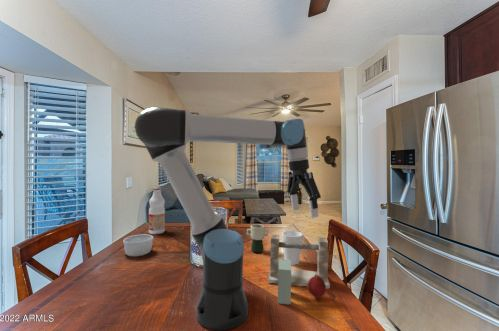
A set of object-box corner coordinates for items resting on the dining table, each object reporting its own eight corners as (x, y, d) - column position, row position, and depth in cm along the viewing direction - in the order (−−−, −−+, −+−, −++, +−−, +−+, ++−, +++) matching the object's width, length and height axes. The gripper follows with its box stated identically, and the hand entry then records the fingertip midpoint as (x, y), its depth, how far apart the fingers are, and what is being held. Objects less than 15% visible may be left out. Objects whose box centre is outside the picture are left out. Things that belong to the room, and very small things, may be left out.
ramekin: (131, 260, 107) (131, 244, 107) (117, 253, 115) (118, 238, 115) (158, 251, 118) (158, 237, 118) (144, 245, 126) (144, 232, 126)
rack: (268, 283, 89) (269, 240, 88) (270, 271, 98) (270, 232, 98) (329, 289, 85) (330, 244, 85) (325, 276, 95) (326, 236, 95)
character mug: (268, 249, 124) (268, 224, 123) (268, 254, 116) (268, 228, 116) (247, 248, 124) (247, 223, 124) (245, 253, 117) (246, 227, 117)
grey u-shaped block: (277, 303, 76) (278, 269, 76) (278, 290, 84) (279, 259, 84) (290, 304, 75) (291, 270, 75) (290, 291, 83) (290, 260, 83)
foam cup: (278, 263, 106) (278, 234, 106) (285, 256, 114) (285, 229, 114) (299, 268, 102) (299, 238, 101) (304, 260, 110) (305, 232, 110)
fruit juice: (160, 234, 144) (160, 188, 144) (145, 234, 145) (146, 188, 145) (167, 230, 154) (167, 187, 153) (153, 229, 155) (153, 186, 154)
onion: (312, 291, 84) (312, 268, 84) (328, 297, 80) (328, 273, 80) (304, 298, 79) (305, 274, 79) (321, 305, 75) (321, 280, 75)
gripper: (326, 157, 82) (333, 218, 83) (290, 158, 105) (296, 205, 106) (307, 160, 79) (315, 223, 80) (275, 161, 103) (281, 209, 104)
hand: (304, 213), depth 93 cm, fingers open, 13 cm apart
